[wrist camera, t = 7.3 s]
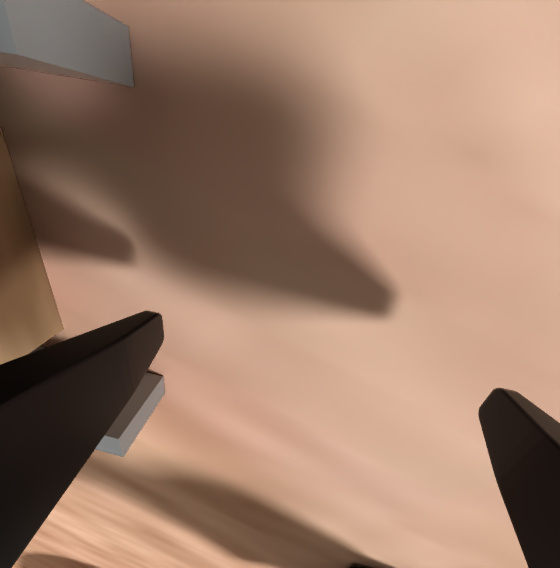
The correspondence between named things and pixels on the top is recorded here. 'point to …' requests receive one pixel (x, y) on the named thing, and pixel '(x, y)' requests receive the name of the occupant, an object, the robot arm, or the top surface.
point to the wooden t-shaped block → (21, 274)
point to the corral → (92, 66)
